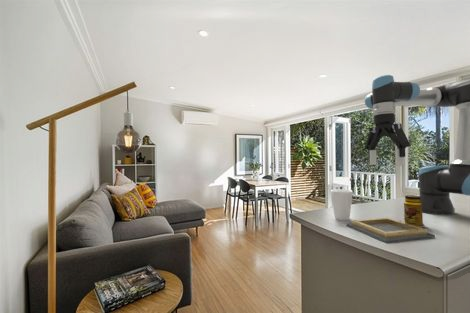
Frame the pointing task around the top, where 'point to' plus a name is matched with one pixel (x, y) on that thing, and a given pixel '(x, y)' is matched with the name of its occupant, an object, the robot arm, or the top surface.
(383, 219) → the wooden rimmed tray
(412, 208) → the condiment
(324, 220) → the top surface
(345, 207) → the foam cup
